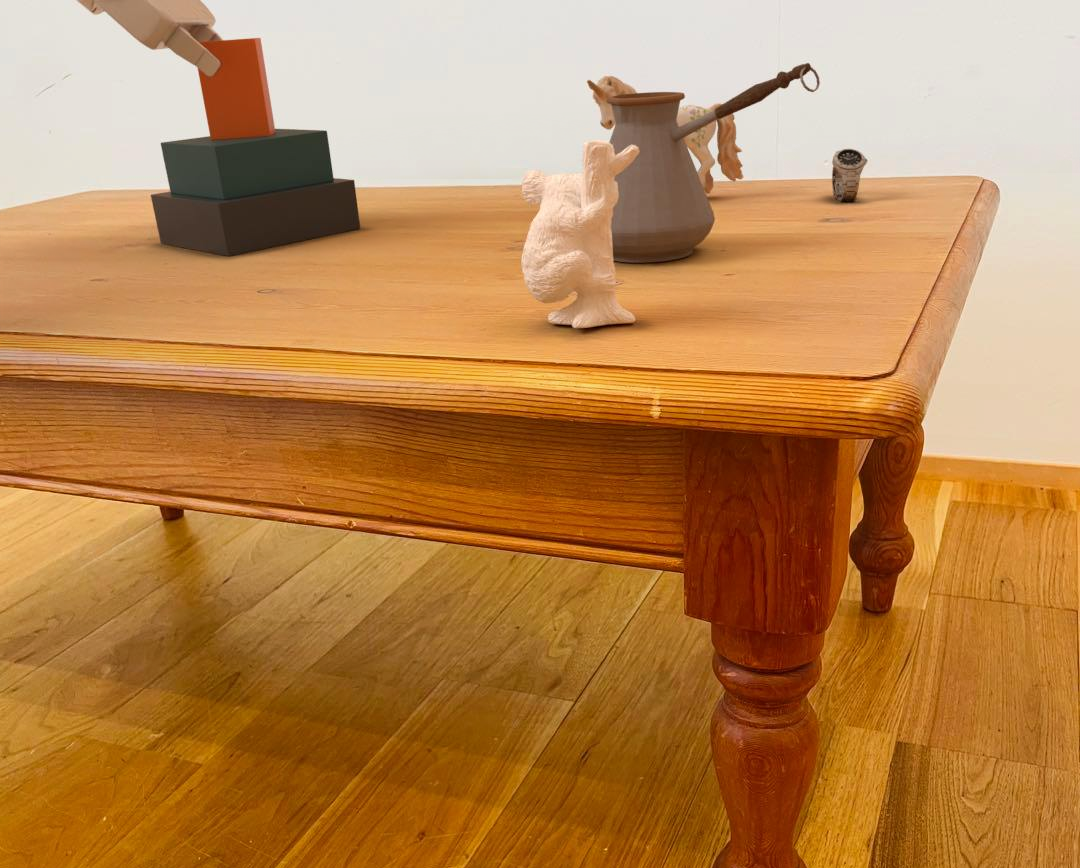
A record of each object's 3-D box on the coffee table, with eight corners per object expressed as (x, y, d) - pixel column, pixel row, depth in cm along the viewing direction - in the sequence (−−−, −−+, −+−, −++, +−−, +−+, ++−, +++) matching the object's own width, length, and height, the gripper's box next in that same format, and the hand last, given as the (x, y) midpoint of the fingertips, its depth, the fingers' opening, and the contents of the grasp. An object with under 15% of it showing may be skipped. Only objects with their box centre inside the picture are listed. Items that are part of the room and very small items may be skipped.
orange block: (210, 140, 109) (192, 42, 105) (217, 137, 112) (200, 41, 108) (270, 136, 109) (254, 38, 105) (275, 132, 112) (260, 37, 108)
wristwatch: (834, 204, 110) (837, 153, 108) (822, 195, 116) (824, 146, 114) (868, 202, 110) (872, 151, 108) (855, 193, 116) (858, 144, 114)
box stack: (228, 256, 105) (208, 148, 101) (160, 243, 114) (139, 144, 110) (360, 228, 115) (347, 129, 111) (288, 218, 124) (273, 126, 120)
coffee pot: (555, 260, 94) (545, 73, 87) (637, 236, 101) (634, 62, 95) (765, 287, 80) (772, 69, 74) (843, 258, 88) (855, 57, 81)
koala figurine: (663, 317, 74) (660, 133, 69) (610, 343, 69) (603, 146, 64) (562, 306, 79) (553, 132, 74) (507, 329, 74) (492, 145, 69)
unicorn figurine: (560, 212, 116) (553, 78, 110) (710, 190, 124) (711, 63, 118) (593, 220, 110) (587, 79, 105) (748, 197, 118) (751, 64, 112)
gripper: (88, -73, 92) (224, 45, 97) (151, -58, 111) (263, 40, 115) (50, -11, 94) (185, 101, 99) (118, -6, 113) (229, 88, 117)
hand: (227, 68), depth 107 cm, fingers open, 8 cm apart
